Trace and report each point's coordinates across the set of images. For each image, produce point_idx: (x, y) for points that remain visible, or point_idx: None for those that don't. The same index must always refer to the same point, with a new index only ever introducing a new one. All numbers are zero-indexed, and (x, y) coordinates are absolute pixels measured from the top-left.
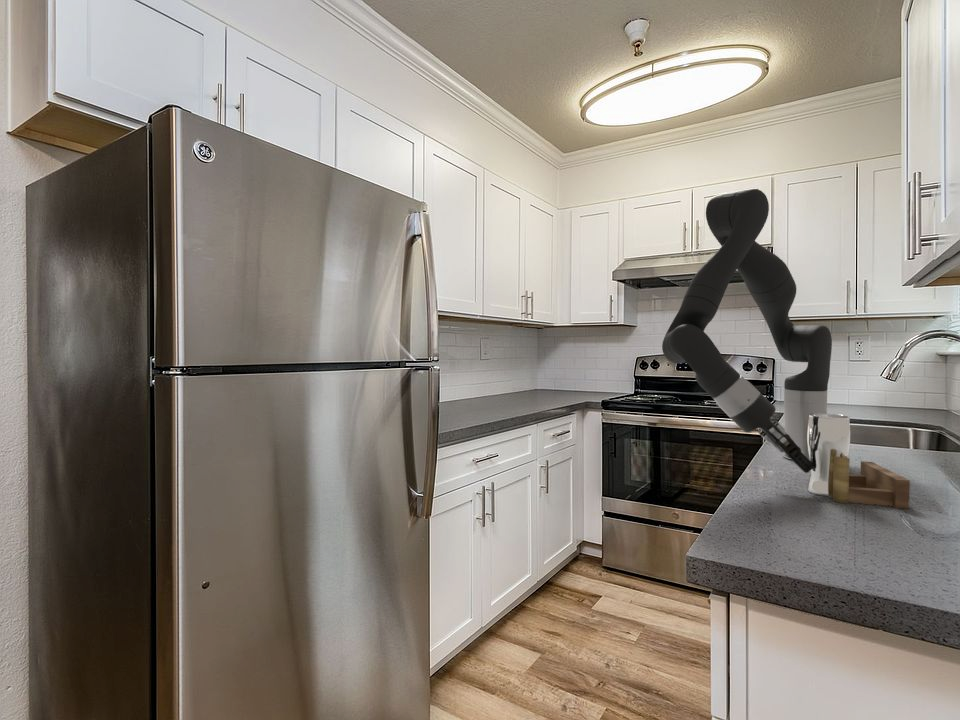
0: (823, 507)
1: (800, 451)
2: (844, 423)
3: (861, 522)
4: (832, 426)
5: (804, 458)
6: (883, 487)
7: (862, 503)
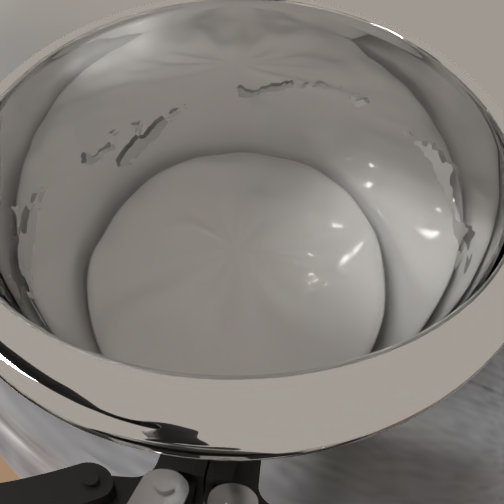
0: (415, 438)
1: (251, 493)
2: (421, 99)
3: (499, 380)
4: (466, 222)
5: (259, 464)
6: None
7: None
